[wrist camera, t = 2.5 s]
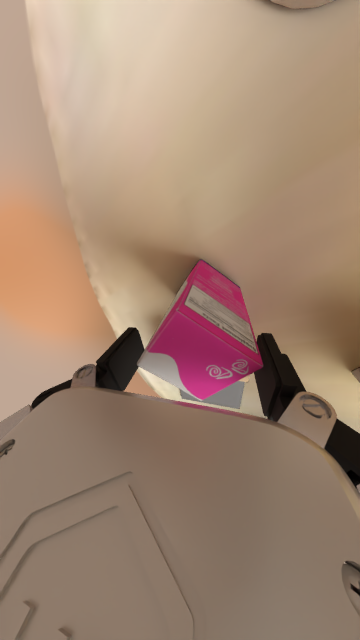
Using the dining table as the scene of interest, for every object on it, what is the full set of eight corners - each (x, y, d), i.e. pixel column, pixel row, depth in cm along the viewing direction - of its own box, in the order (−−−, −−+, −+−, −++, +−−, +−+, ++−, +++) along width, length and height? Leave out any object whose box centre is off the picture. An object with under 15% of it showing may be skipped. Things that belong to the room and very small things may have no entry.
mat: (174, 356, 26) (173, 357, 25) (247, 363, 22) (247, 365, 22) (182, 396, 33) (181, 398, 32) (239, 407, 29) (239, 409, 29)
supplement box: (210, 320, 20) (200, 404, 11) (175, 295, 19) (130, 363, 10) (243, 287, 16) (267, 371, 7) (201, 256, 16) (169, 304, 7)
